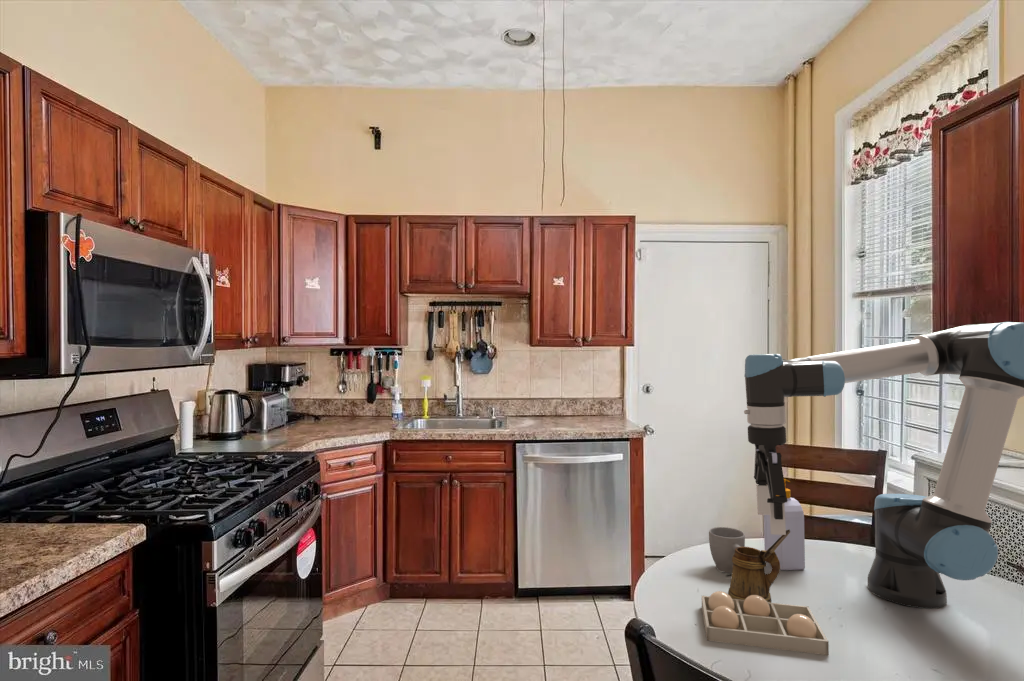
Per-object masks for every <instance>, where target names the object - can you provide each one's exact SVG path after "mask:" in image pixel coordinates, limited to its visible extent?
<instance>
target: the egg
mask: <svg viewBox="0 0 1024 681" xmlns="http://www.w3.org/2000/svg"><path fill="white" fill-rule="evenodd" d="M743 609H744V612H745V614H746V615H755V616H764V617H769V615H770V607H769V604H768V602H767V601H766V600H765V599H764V598H763V597H761V596H759V595H750V596H748V597H747V598H746V599H745V600H744V603H743Z"/></svg>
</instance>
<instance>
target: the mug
mask: <svg viewBox="0 0 1024 681" xmlns="http://www.w3.org/2000/svg"><path fill="white" fill-rule="evenodd" d="M708 541H709V542H708V543H709V549H710V553H711V556H712V561H713V562H714V564H715V568H716V570H717V571H720V572H722V573H727V574H732V568H733V562H732V557H733V554H734V552H735V548H737V547H746V536H745V533H744V531H742V530H740V529H737V528H733V527H728V526H727V527H726V526H717V527H712V528H710V529H709V530H708Z"/></svg>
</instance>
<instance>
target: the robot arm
mask: <svg viewBox="0 0 1024 681" xmlns="http://www.w3.org/2000/svg"><path fill="white" fill-rule="evenodd" d="M918 373H920V375H923V376H925V377H926V376H934V375H958V376H959V377H958V379H959V380H960V382H961V383H962V384H963V386H964V391H963V396H962V398H961V402H960V405H959V408H958V412H957V415H956V418H955V422H954V425H953V429H952V432H951V435H950V438H949V442H948V446H947V448H946V451H945V455H944V458H943V462H942V466H941V469H940V472H939V475H938V478H937V483H936V485H935V489H934V492H933V493H932V494H931V495H928V496H926V495H920V494H919V495H918V494H911V493H908V494H907V493H882V494H878V495H877V496H876V497H875V498H874V506H873V511H874V538H875V539H874V541H875V544H874V545H875V556H874V559H873V562H872V564H871V567H870V568H869V569H870V570H869V571H868V575H867V588H868V590H869V591H870V592H871V593H872V594H874V595H875V596H878V597H879V598H881V599H884V600H886V601H889V602H892V603H894V604H898V605H902V606H907V607H912V608H913V607H914V608H918V609H919V608H920V609H936V608H941V607H944V606H946V605H947V602H948V596H947V595H948V594H947V590H946V588H945V585H944V582H943V580H942V577H941V575H944V576H946V577H948V578H951V579H953V580H957V581H973V580H976V579H977V578H980V577H982V578H983V577H984V576H985V575H988V573H989V572H991V570H992V569H993V568H994V566H995V565H996V564H997V562H998V561H997V560H998V557H999V548H998V544H996V543H995V542H996V540H995V539H994V537H992V535H991V534H990V529H991V527H992V526H991V525H992V522H993V521H992V519H991V518H990V517H989V515H988V514H987V511H986V507H987V505H988V502H989V498H990V494H991V491H992V487H993V484H994V480H995V477H996V473H997V471H998V469H999V468H998V467H999V465H1000V461H1001V458H1002V454H1003V450H1004V447H1005V445H1006V441H1007V437H1008V434H1009V430H1010V428H1011V425H1012V421H1013V417H1014V414H1015V410H1016V408H1017V404H1018V400H1019V399H1021V398H1023V397H1024V322H1014V321H1003V322H994V323H977V324H976V323H974V324H965V325H961V326H960V325H959V326H956V327H953V328H951V327H950V328H948V329H945V330H939V331H935V332H932V333H931V332H930V333H926V334H919V335H916V336H914V337H913V338H912V339H911V341H910V340H909V341H903V342H896V343H888V344H883V345H882V344H881V345H875V346H869V347H862V348H856V349H851V350H850V349H849V350H842V351H838V352H830V353H824V354H823V353H822V354H817V355H811V356H805V357H798V358H792V359H791V358H790V359H783V357H782V355H781V354H780V353H760V354H759V353H758V354H757V353H756V354H748V355H747V356H746V358H745V360H744V381H745V394H746V395H745V396H746V398H745V399H746V408H747V409H745V410H744V411H743V413H744V415H746V417H747V419H746V420H747V423H748V424H749V425H748V426H747V442H749V443H750V444H752V445H754V446H755V447H754V448H755V455H754V474H753V475H754V476H753V478H754V480H755V483H756V484H755V485H756V488H755V489H756V504H757V505H756V506H757V515H762V516H764V515H770V529H771V534H775V535H786V526H785V506H784V503H785V502H787V497H786V490H785V483H784V479H785V478H784V470H783V465H782V454H781V452H777V446H783V445H785V444H786V443H787V430H786V427H785V426H784V425H785V424H786V423H787V422H786V405H785V403H786V402H785V398H792V397H829V396H837V395H840V394H841V393H842V392H843V390H844V388H845V384H848V383H849V384H850V383H855V382H856V383H857V382H862V381H863V382H864V381H869V380H878V379H883V378H885V379H886V378H891V377H897V376H905V375H912V374H918ZM776 495H779V496H776Z"/></svg>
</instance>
